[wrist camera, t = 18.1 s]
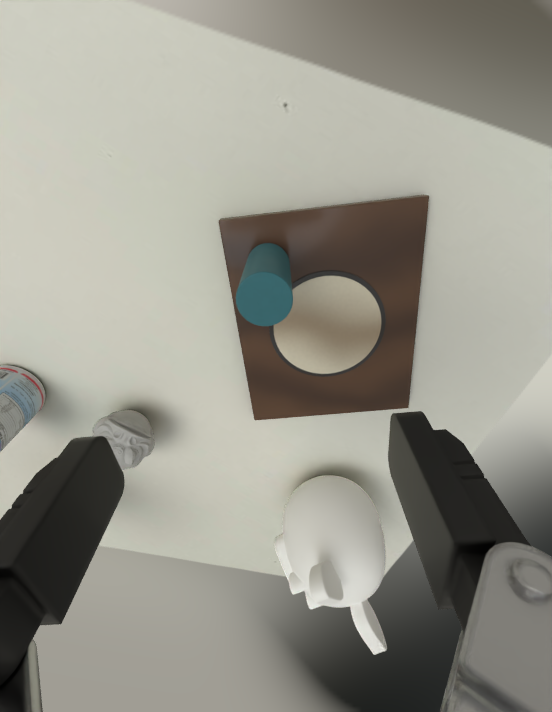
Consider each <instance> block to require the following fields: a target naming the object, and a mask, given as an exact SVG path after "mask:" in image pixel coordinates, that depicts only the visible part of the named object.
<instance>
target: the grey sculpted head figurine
mask: <svg viewBox="0 0 552 712" xmlns="http://www.w3.org/2000/svg"><path fill="white" fill-rule="evenodd" d="M94 436H104V437H105V438H106V439H107V440H108V442H109V444H110V446H111V448H112V450H113V452H114V455H115V457H116V459H117V461H118V463H119V465H120V467H121V470H125V469H128V468H133V467H136V466H137V465H138V464H139V463H140V462H141V461H142V459H143V458H144V457H146V456H148V455H150V453H151V452H152V450H153V448H154V439H153V430H152V428H151V425H150V423H149V421H148V420H147V418H146V417H145V416H144V415H142V414H141V413H139V412H137V411H133V410H122V411H118V412H113V413H111V414H110V415H108V416H106V417H103V418H101V419H100V420H98V421H97V422H96V423H95V425H94V427H93V436H92V437H94Z"/></svg>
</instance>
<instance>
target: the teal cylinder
mask: <svg viewBox="0 0 552 712" xmlns="http://www.w3.org/2000/svg"><path fill="white" fill-rule="evenodd" d="M236 305H237V308H238V310H239V312H240V314H241V315H242V316H243V317H244V318H245V319H246V320H247V321H249V322H250V323H252V324H255V325H258V326H272V325H275V324H277V323H279V322H281V321H282V320H284V319H285V318H286V317H287V316H288V314H289V313H290V311H291V308H292V305H293V292H292V282H291V272H290V262H289V258H288V255H287V254H286V252H285V251H284V250H283V249H282V248H281V247H280V246H278V245H276V244H272V243H264V244H260V245H258V246H256V247H255V248H254V249H253V250H252V251H251V252H250V254H249V256H248V259H247V262H246V265H245V268H244V271H243V274H242V277H241V280H240V283H239V286H238V289H237V292H236Z"/></svg>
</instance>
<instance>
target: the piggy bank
mask: <svg viewBox="0 0 552 712" xmlns="http://www.w3.org/2000/svg"><path fill="white" fill-rule="evenodd" d="M282 531H283V534H281V535H279V536H277V537H276V538H275V540H274V546H275V550H276V553H277V556H278V558H279V561H280V563H281V566H282V568H283V570H284V572H285V575H286V577H287V579H288V581H289V585H290V590H291V592H292V594H293V595H294V594H297V593H300V592H302V591H305V594H306V600H307V604H308V606H309V608H310V609H314V608H317V607H319V606H322V605H325V606H330V607H348V606H350V607H351V613H352V617H353V620H354V623H355V626H356V628H357V630H358V632H359V634H360V635H361V637H362V638H363V640H364V641H365V643H366V644H367V646H368V647H369V648H370V650H371V651H372V653H373V654H378V653H380V652H383V651H386V649H387V646H386V642H385V638H384V635H383V632H382V629H381V627H380V624H379V622H378V620H377V617H376V615H375V613H374V611H373V609H372V607H371V605H370V603H369V602H368V600H367V599H368V598H369V597H370V596H371V595H372V594H373V593H374V592H375V591H376V590H377V588H378V587H379V585H380V583H381V581H382V578H383V575H384V570H385V542H384V534H383V529H382V525H381V521H380V518H379V515H378V512H377V509H376V507H375V505H374V503H373V501H372V500H371V498H370V497H369V495H368V494H367V493H366V492H365V491H364V490H363V489H362V488H361V487H360V486H359V485H358V484H356V483H355V482H353V481H351V480H349V479H347V478H344V477H340V476H333V475H325V476H319V477H315V478H312V479H310V480H308V481H306V482H304V483H302V484H301V485H300V486H299V487H298V488H296V489H295V490H294V492H293V493H292V494H291V496H290V497H289V499H288V501H287V503H286V506H285V509H284V513H283V520H282Z"/></svg>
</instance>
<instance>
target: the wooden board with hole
mask: <svg viewBox="0 0 552 712" xmlns="http://www.w3.org/2000/svg"><path fill="white" fill-rule="evenodd" d="M428 202H429V196H427V195H417V196H409V197H400V198H392V199H384V200H375V201H367V202H358V203H350V204H341V205H333V206H324V207H316V208H307V209H299V210H290V211H282V212H273V213H265V214H256V215H248V216H239V217H231V218H222V219H220V220H219V226H220V232H221V237H222V243H223V248H224V254H225V259H226V265H227V270H228V276H229V282H230V287H231V293H232V298H233V304H234V309H235V315H236V320H237V326H238V331H239V337H240V342H241V348H242V353H243V359H244V364H245V370H246V375H247V381H248V386H249V392H250V398H251V403H252V409H253V414H254V419H255V420H264V419H276V418H289V417H301V416H314V415H326V414H339V413H351V412H364V411H376V410H388V409H401V408H408V405H409V395H410V385H411V375H412V365H413V354H414V344H415V334H416V324H417V314H418V304H419V293H420V283H421V273H422V263H423V253H424V242H425V232H426V222H427V212H428ZM264 243H272V244H276V245H278V246H280V247H281V248H282V249H283V250H284V251H285V252H286V254H287V255H288V258H289V262H290V272H291V282H292V292H293V305H292V308H291V311H290V313H289V314H288V316H287V317H286V318H285V319H284V320H282V321H281V322H279V323H277V324H275V325H272V326H258V325H255V324H252V323H250V322H249V321H247V320H246V319H245V318H244V317H243V316H242V315H241V314H240V312H239V310H238V308H237V305H236V292H237V289H238V286H239V283H240V280H241V277H242V274H243V271H244V268H245V265H246V262H247V259H248V256H249V254H250V252H251V251H252V250H253V249H254V248H255V247H256V246H258V245H260V244H264Z"/></svg>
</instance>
